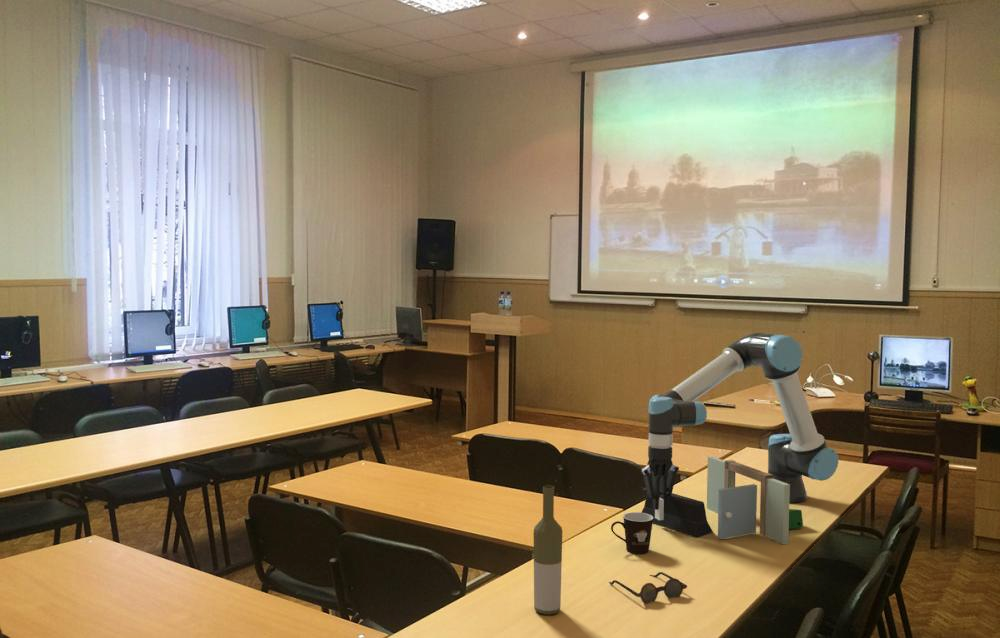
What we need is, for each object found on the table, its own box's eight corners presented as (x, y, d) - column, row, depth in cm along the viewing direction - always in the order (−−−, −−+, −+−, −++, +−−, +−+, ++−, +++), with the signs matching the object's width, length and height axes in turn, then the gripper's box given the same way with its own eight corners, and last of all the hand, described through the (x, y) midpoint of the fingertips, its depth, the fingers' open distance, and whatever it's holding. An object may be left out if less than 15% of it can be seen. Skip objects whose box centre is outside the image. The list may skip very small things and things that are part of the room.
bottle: (528, 614, 179) (529, 489, 177) (537, 602, 185) (538, 481, 184) (557, 619, 176) (558, 492, 175) (565, 607, 183) (566, 484, 181)
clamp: (788, 537, 246) (795, 510, 248) (799, 539, 240) (806, 511, 242) (756, 525, 244) (763, 498, 246) (766, 526, 238) (773, 498, 241)
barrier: (713, 533, 238) (714, 501, 237) (696, 539, 232) (697, 506, 232) (654, 514, 256) (655, 485, 255) (637, 519, 250) (637, 489, 250)
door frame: (712, 507, 263) (713, 453, 262) (789, 543, 228) (790, 481, 227) (705, 508, 262) (706, 454, 261) (781, 544, 227) (783, 482, 226)
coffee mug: (654, 547, 224) (655, 514, 223) (650, 557, 216) (651, 522, 215) (615, 542, 228) (615, 509, 227) (610, 552, 219) (610, 518, 219)
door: (752, 531, 237) (753, 484, 236) (759, 534, 234) (760, 486, 233) (717, 537, 231) (718, 489, 230) (724, 540, 228) (725, 491, 227)
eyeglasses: (637, 607, 184) (638, 586, 184) (605, 584, 198) (605, 565, 197) (687, 597, 190) (687, 577, 190) (652, 576, 203) (652, 557, 203)
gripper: (671, 442, 246) (670, 513, 248) (636, 444, 242) (635, 517, 243) (684, 446, 239) (683, 520, 241) (648, 450, 235) (647, 524, 236)
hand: (659, 518), depth 242 cm, fingers closed
